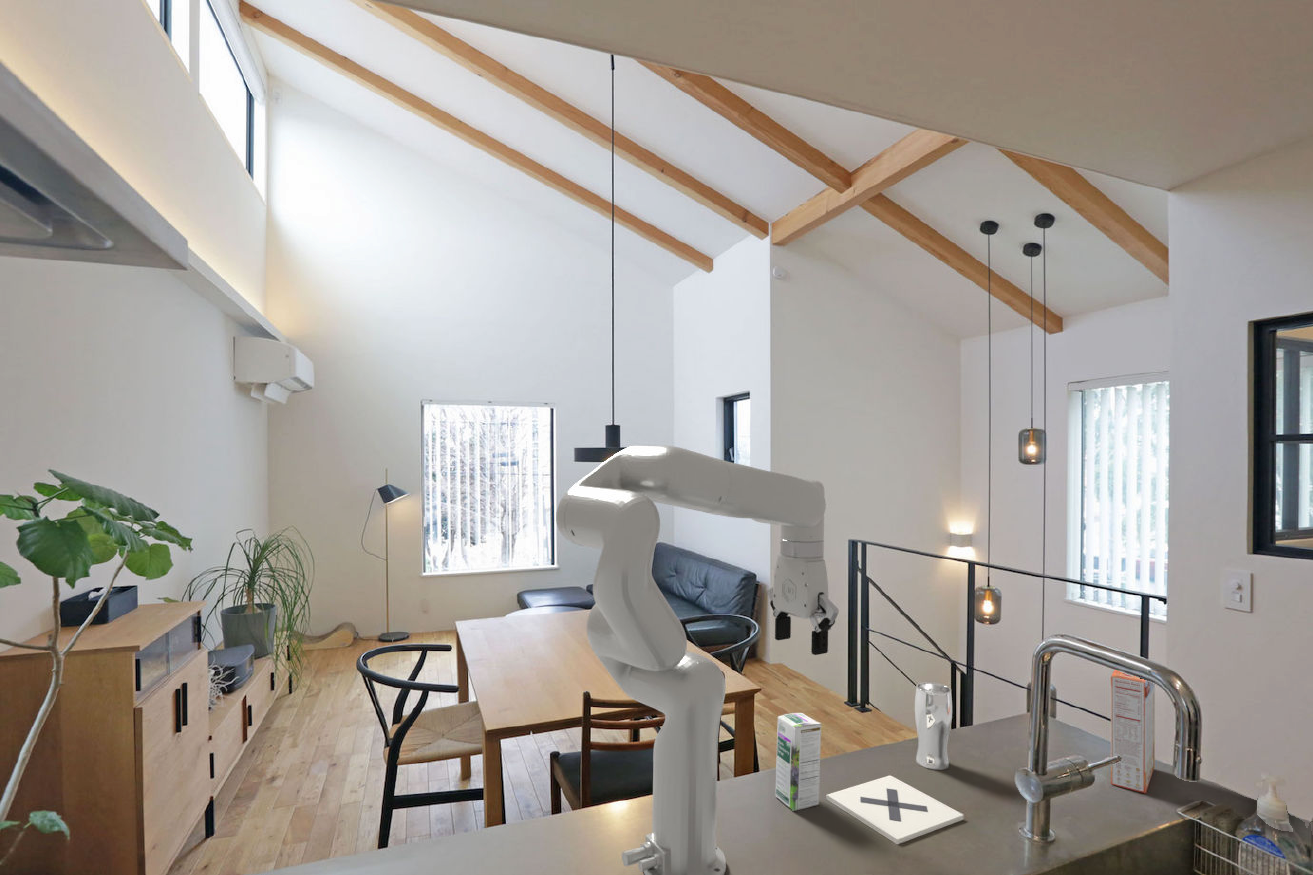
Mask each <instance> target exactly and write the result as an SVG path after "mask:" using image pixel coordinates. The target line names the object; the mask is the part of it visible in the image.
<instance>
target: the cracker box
mask: <svg viewBox="0 0 1313 875" xmlns="http://www.w3.org/2000/svg"><path fill="white" fill-rule="evenodd" d="M1155 687H1156V683H1155V684H1153V683H1151V682H1149V681H1147V680H1144V679H1140V678H1138V677H1136V676H1130V675H1127V674H1125V673H1122V672H1120V671H1117V670H1113V672H1112V674H1111V675H1110V758H1111V757H1113V756H1120V757H1121V758H1122V759H1121V761H1119V762H1117V763H1115V764H1113V765H1111V764H1110V784H1111V785H1113V786H1115V787H1120V788H1123V789H1127V790H1131V791H1134V792H1138V793H1143V794H1146V793H1147V791H1148V789H1149V786H1150V781H1151V779H1152V775H1153V773H1154V770H1155V766H1156V765H1155V758H1156V755H1155V752H1156V751H1155V750H1156V748H1155V741H1156V740H1155V739H1156V737H1155V735H1156V734H1155V731H1156V730H1155V729H1156V727H1155V726H1156V725H1155V724H1156V723H1155V722H1156V720H1155V717H1156V716H1155V714H1156V713H1155V712H1156V711H1155V710H1156V707H1155V706H1156V705H1155V704H1156V703H1155V702H1156V701H1155V699H1156V697H1155V696H1156V695H1155V694H1156V688H1155Z"/></svg>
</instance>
